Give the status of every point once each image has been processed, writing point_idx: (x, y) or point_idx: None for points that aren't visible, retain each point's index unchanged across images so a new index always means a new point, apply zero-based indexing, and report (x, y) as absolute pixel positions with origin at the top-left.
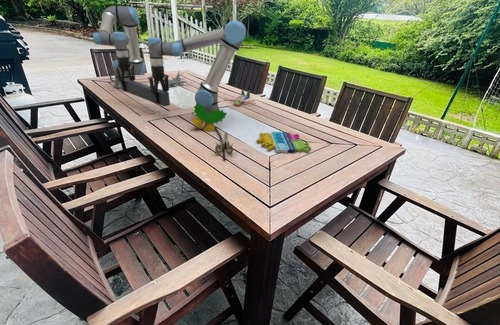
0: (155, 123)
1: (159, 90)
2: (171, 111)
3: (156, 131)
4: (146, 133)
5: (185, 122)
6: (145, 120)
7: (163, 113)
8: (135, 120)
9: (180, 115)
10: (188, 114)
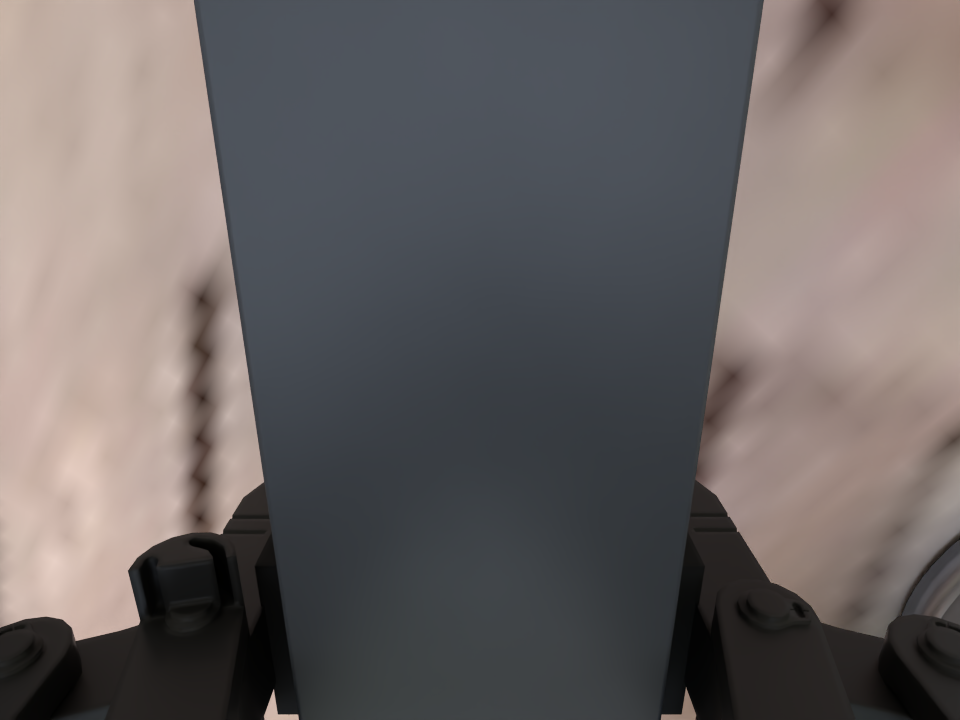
0: (252, 427)
1: (529, 620)
2: (826, 105)
3: None
4: (11, 617)
5: None
6: (178, 219)
7: None
8: (24, 99)
9: (758, 389)
10: (878, 430)
